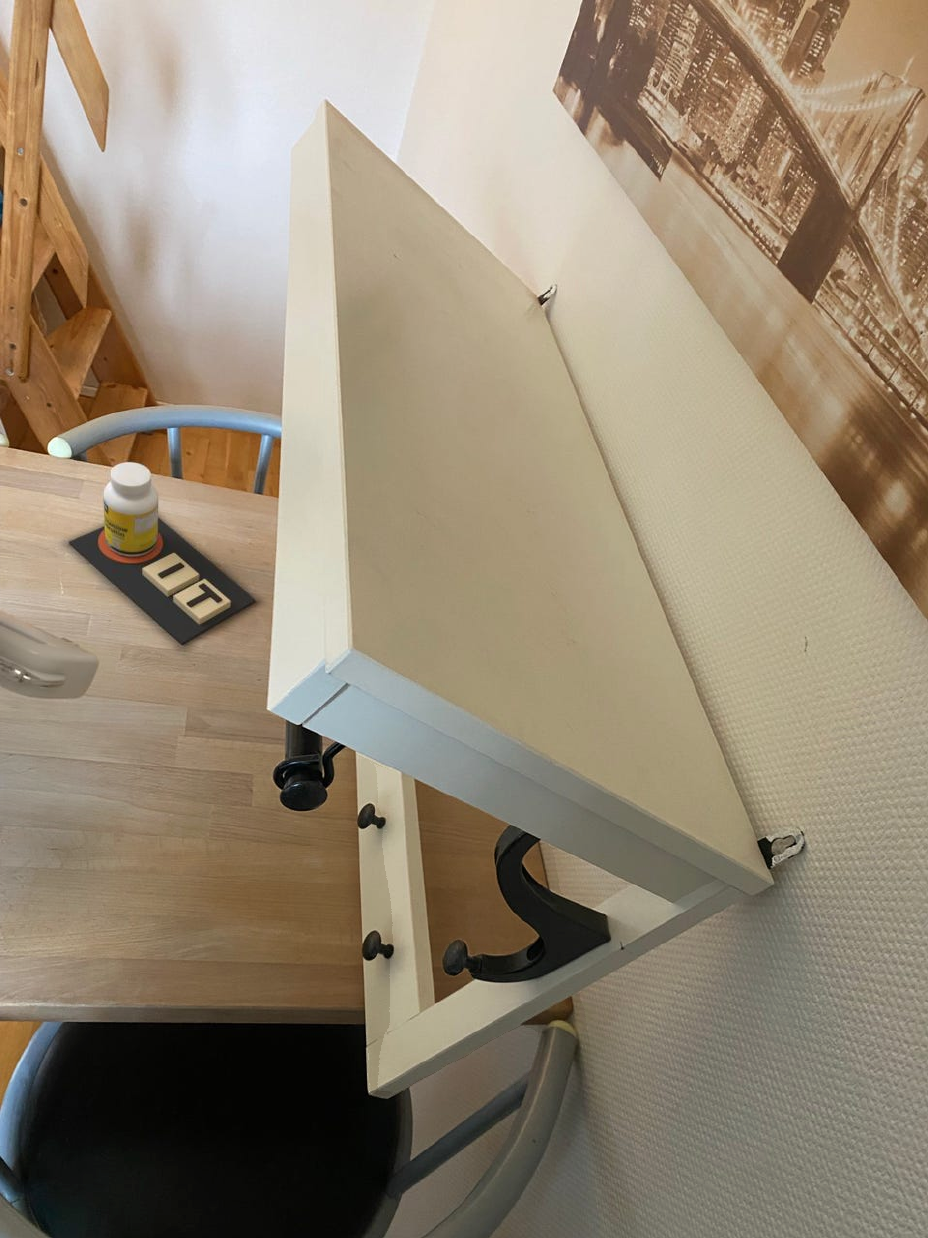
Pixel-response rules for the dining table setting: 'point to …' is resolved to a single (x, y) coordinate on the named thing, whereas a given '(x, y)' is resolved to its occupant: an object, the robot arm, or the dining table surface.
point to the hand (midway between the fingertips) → (21, 627)
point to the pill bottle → (130, 510)
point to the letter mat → (169, 582)
